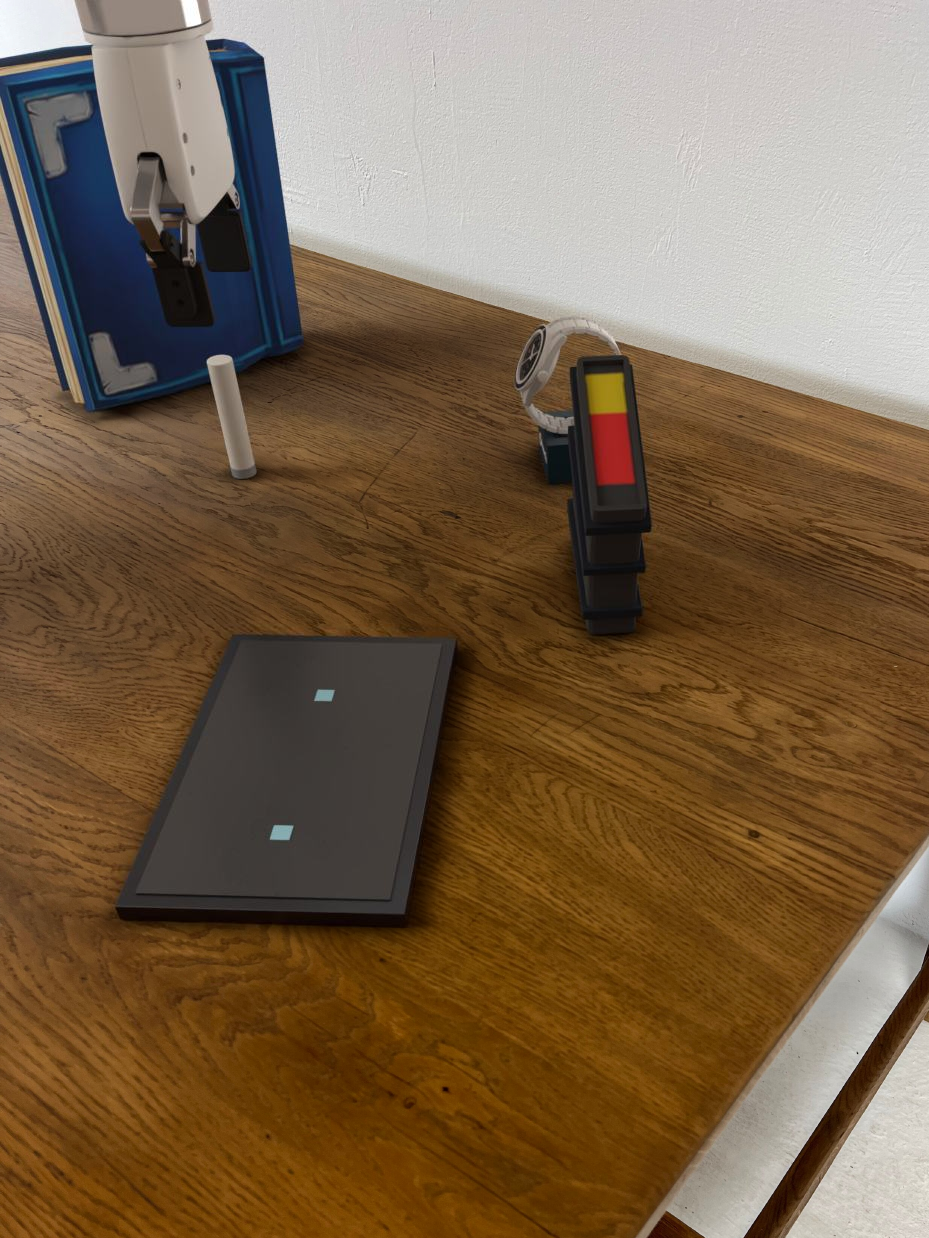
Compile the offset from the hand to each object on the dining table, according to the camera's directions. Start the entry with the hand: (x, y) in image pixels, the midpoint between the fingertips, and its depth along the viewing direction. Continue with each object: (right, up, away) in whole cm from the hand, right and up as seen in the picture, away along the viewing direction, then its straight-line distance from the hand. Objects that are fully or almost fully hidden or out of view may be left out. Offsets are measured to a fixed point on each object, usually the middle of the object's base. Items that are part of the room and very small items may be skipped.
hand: (212, 296), depth 79 cm
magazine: (+27, -22, -4) cm, 35 cm away
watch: (+25, -9, +10) cm, 28 cm away
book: (-9, +2, +23) cm, 24 cm away
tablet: (+10, -33, -16) cm, 38 cm away
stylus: (0, -10, +9) cm, 13 cm away
